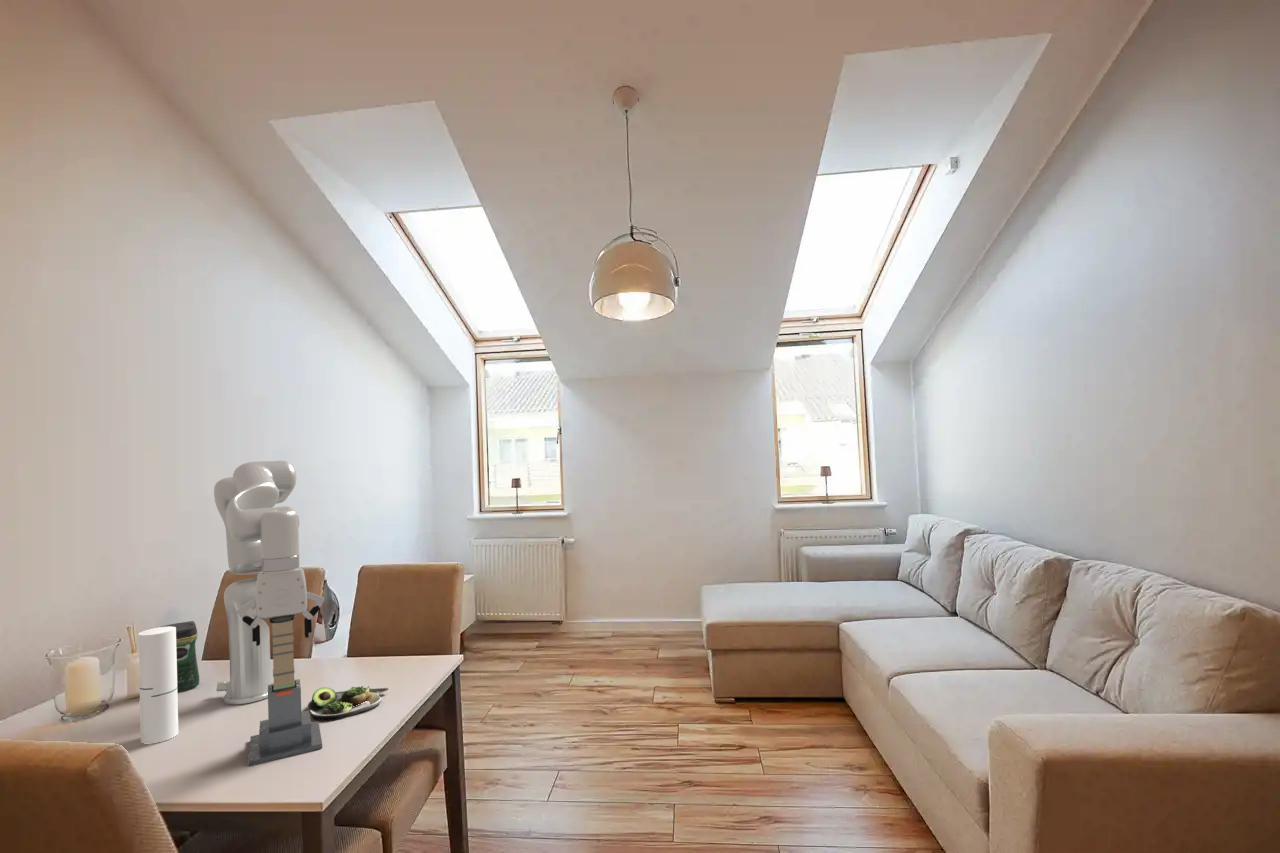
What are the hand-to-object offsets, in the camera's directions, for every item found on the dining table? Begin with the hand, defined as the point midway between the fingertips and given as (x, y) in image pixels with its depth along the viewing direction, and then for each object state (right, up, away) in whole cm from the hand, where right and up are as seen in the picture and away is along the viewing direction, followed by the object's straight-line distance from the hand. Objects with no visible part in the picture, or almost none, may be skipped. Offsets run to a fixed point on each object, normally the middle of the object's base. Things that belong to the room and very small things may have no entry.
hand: (282, 640), depth 147 cm
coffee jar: (-51, -27, +38) cm, 69 cm away
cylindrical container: (-32, -25, +6) cm, 41 cm away
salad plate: (+4, -24, +21) cm, 32 cm away
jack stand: (+1, -23, -1) cm, 23 cm away
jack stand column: (+1, -16, 0) cm, 16 cm away
